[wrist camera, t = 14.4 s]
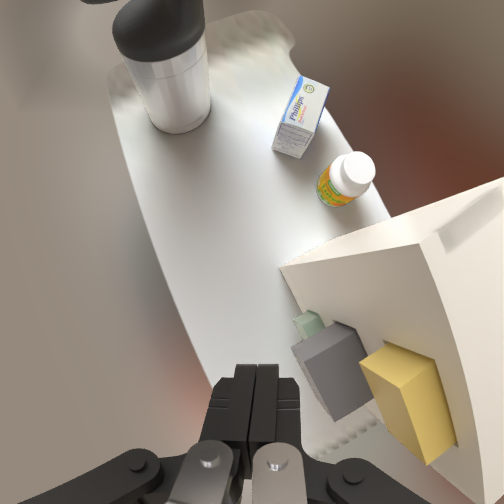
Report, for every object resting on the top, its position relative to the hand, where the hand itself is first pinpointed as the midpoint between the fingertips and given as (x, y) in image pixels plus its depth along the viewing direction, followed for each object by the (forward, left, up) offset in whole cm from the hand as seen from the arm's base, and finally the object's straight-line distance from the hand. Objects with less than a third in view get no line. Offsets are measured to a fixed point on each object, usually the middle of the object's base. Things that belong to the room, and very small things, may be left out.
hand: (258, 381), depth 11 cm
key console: (+7, +11, -30) cm, 33 cm away
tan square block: (+7, +8, -6) cm, 12 cm away
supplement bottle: (-8, +19, -31) cm, 37 cm away
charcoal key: (+7, +6, -16) cm, 18 cm away
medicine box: (-18, +18, -31) cm, 40 cm away
